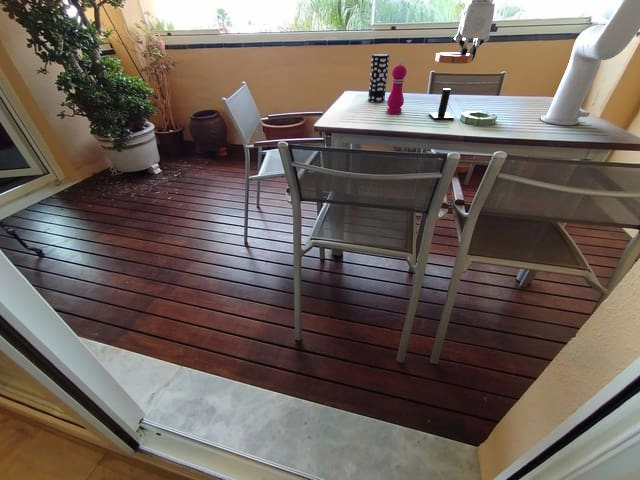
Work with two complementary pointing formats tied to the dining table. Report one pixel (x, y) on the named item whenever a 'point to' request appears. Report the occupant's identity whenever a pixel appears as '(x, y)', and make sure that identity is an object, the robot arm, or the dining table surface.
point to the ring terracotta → (453, 58)
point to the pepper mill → (396, 89)
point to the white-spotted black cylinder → (378, 77)
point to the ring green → (478, 118)
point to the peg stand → (443, 107)
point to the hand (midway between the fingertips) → (466, 60)
